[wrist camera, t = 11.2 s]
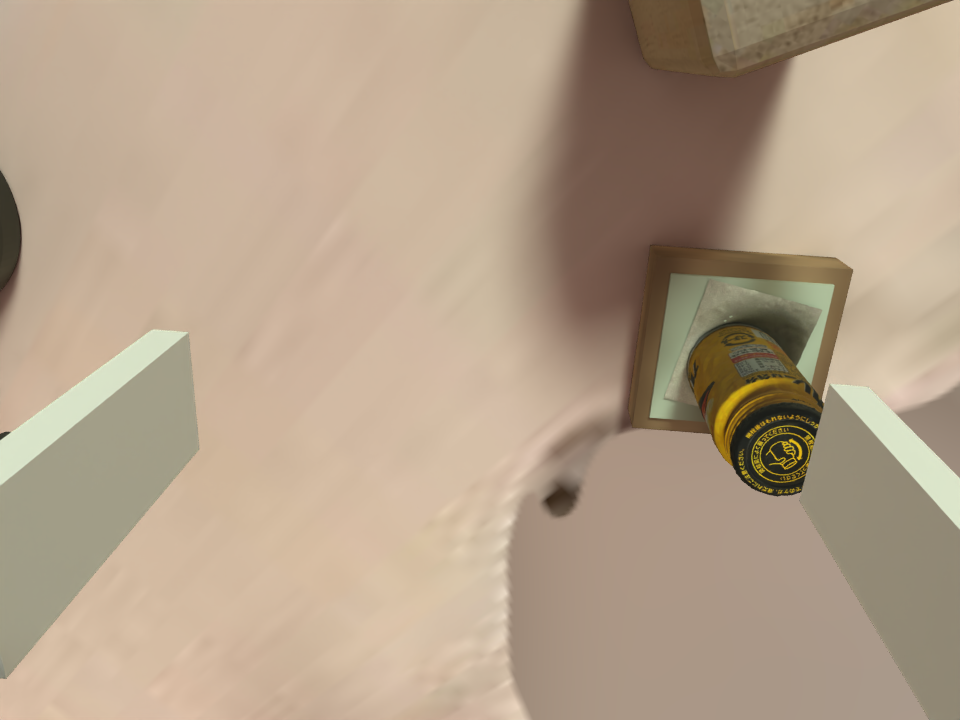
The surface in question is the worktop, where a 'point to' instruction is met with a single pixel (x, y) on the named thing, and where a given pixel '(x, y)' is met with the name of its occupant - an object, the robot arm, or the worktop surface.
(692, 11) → the wooden block
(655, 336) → the stand
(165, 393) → the robot arm
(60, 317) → the worktop surface
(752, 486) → the condiment
